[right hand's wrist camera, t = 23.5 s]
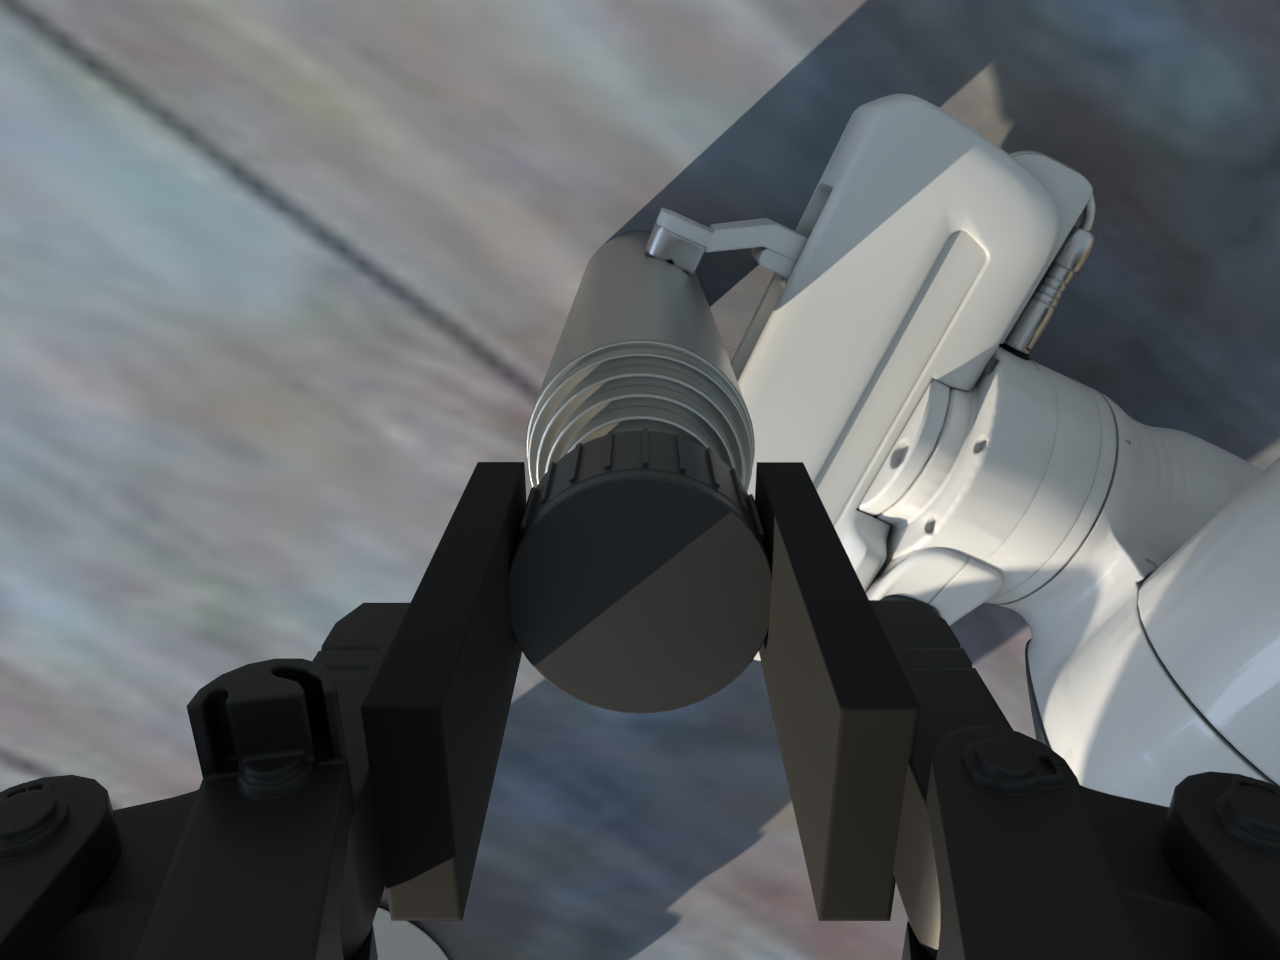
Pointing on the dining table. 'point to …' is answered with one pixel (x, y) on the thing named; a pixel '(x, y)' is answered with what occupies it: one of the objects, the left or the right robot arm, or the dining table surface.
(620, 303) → the bottle
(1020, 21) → the dining table surface
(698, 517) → the cap
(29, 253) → the dining table surface
